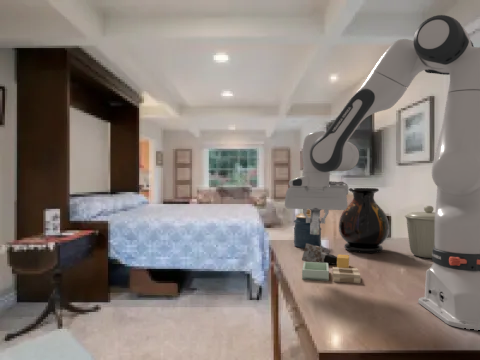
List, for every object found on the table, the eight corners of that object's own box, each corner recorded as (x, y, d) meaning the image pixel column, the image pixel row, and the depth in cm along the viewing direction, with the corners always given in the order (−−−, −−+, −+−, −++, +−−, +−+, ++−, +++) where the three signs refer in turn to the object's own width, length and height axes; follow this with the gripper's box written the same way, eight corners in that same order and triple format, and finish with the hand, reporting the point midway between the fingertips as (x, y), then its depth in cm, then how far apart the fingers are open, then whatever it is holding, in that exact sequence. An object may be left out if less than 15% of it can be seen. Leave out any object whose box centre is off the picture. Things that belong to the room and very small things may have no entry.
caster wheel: (337, 269, 134) (329, 270, 126) (310, 259, 141) (301, 260, 132) (342, 252, 135) (334, 252, 126) (314, 243, 141) (305, 243, 132)
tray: (328, 280, 110) (328, 271, 110) (302, 279, 112) (302, 269, 112) (327, 271, 121) (328, 263, 121) (303, 270, 123) (303, 261, 123)
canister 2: (455, 255, 148) (455, 205, 148) (452, 263, 133) (452, 208, 133) (408, 250, 158) (408, 203, 158) (401, 257, 144) (401, 205, 144)
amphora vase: (395, 256, 146) (395, 188, 146) (341, 254, 149) (342, 188, 149) (382, 246, 167) (382, 187, 167) (336, 244, 171) (336, 187, 171)
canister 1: (291, 247, 164) (291, 209, 164) (295, 242, 176) (295, 207, 176) (320, 249, 160) (320, 210, 160) (322, 244, 172) (322, 208, 172)
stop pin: (320, 235, 114) (321, 208, 114) (308, 234, 115) (309, 207, 115) (320, 233, 118) (321, 207, 118) (308, 232, 119) (309, 206, 118)
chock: (348, 269, 124) (348, 258, 124) (336, 268, 125) (337, 257, 125) (349, 265, 130) (349, 255, 130) (338, 265, 131) (338, 254, 131)
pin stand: (360, 283, 107) (360, 275, 107) (333, 281, 109) (333, 273, 109) (357, 276, 115) (357, 268, 115) (332, 274, 117) (332, 267, 117)
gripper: (347, 181, 117) (347, 222, 117) (286, 181, 121) (285, 220, 122) (349, 181, 111) (348, 225, 111) (284, 181, 115) (284, 223, 115)
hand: (315, 223), depth 116 cm, fingers closed on stop pin, 3 cm apart
